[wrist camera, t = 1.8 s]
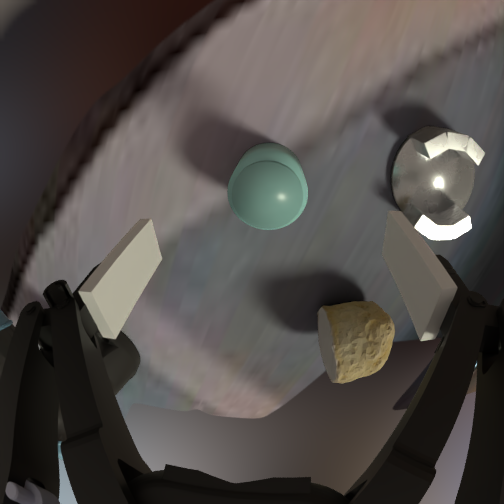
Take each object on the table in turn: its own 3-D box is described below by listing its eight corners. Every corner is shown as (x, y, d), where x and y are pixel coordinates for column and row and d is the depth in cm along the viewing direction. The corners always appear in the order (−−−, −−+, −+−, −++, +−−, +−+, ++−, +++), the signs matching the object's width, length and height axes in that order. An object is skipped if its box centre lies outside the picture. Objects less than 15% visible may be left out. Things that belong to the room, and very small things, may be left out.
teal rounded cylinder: (240, 205, 27) (231, 234, 22) (233, 144, 24) (221, 159, 19) (302, 203, 27) (308, 232, 22) (301, 141, 24) (308, 155, 18)
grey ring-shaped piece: (385, 223, 27) (397, 240, 24) (393, 121, 21) (409, 126, 18) (462, 223, 26) (478, 239, 22) (476, 134, 20) (496, 142, 17)
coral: (294, 330, 26) (396, 355, 21) (325, 277, 34) (404, 293, 29) (291, 387, 30) (371, 410, 26) (319, 334, 38) (386, 350, 34)
